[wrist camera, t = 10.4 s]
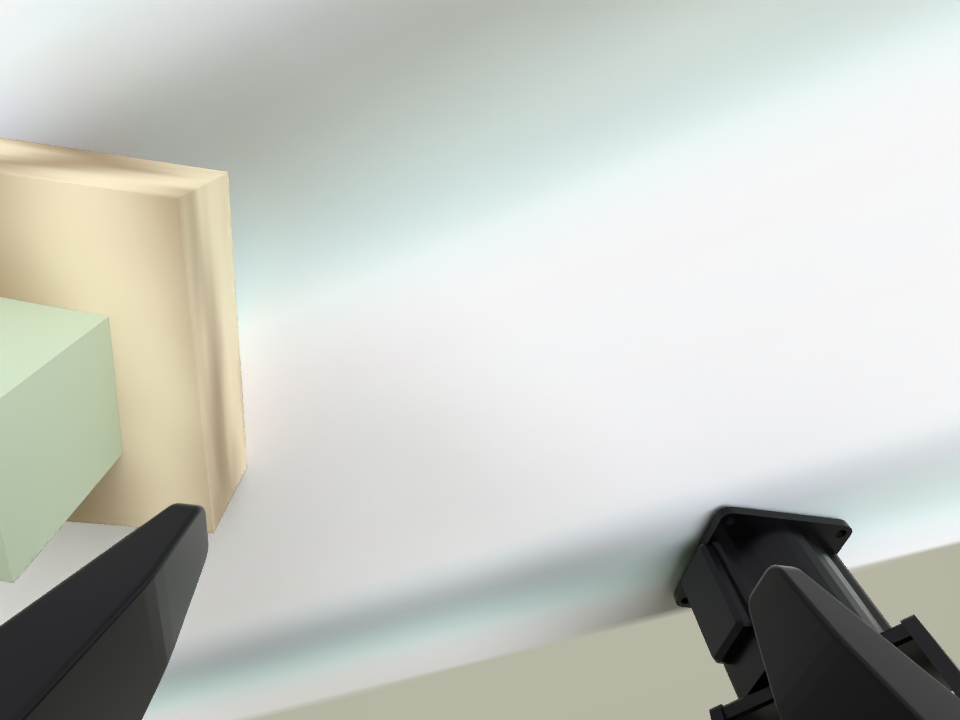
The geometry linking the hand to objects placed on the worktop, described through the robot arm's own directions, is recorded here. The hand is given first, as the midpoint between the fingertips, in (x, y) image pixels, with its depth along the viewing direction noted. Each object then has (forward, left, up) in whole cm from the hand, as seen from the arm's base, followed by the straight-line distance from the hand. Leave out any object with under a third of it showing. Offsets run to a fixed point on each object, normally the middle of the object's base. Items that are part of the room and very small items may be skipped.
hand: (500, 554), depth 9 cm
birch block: (+13, +4, -12) cm, 19 cm away
